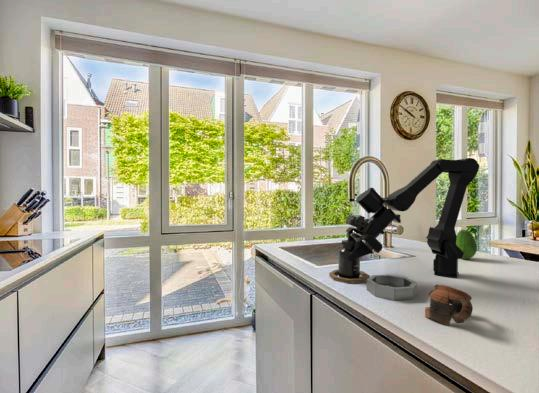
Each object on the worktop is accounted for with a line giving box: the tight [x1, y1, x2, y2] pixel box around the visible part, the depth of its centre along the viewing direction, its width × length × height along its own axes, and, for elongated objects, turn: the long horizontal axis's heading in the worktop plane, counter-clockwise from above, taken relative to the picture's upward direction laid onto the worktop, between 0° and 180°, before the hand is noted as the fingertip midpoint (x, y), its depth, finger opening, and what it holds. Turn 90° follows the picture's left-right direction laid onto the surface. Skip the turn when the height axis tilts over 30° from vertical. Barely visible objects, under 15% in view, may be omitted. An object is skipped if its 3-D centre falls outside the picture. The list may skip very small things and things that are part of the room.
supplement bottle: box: [337, 239, 361, 279], centre depth 98 cm, size 7×7×12 cm
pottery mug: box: [424, 284, 474, 326], centre depth 66 cm, size 12×10×8 cm
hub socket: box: [366, 274, 418, 301], centre depth 84 cm, size 12×12×3 cm
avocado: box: [456, 229, 478, 260], centre depth 122 cm, size 8×8×12 cm
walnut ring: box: [328, 269, 371, 284], centre depth 98 cm, size 12×12×1 cm
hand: (344, 257), depth 98 cm, fingers closed on supplement bottle, 7 cm apart
